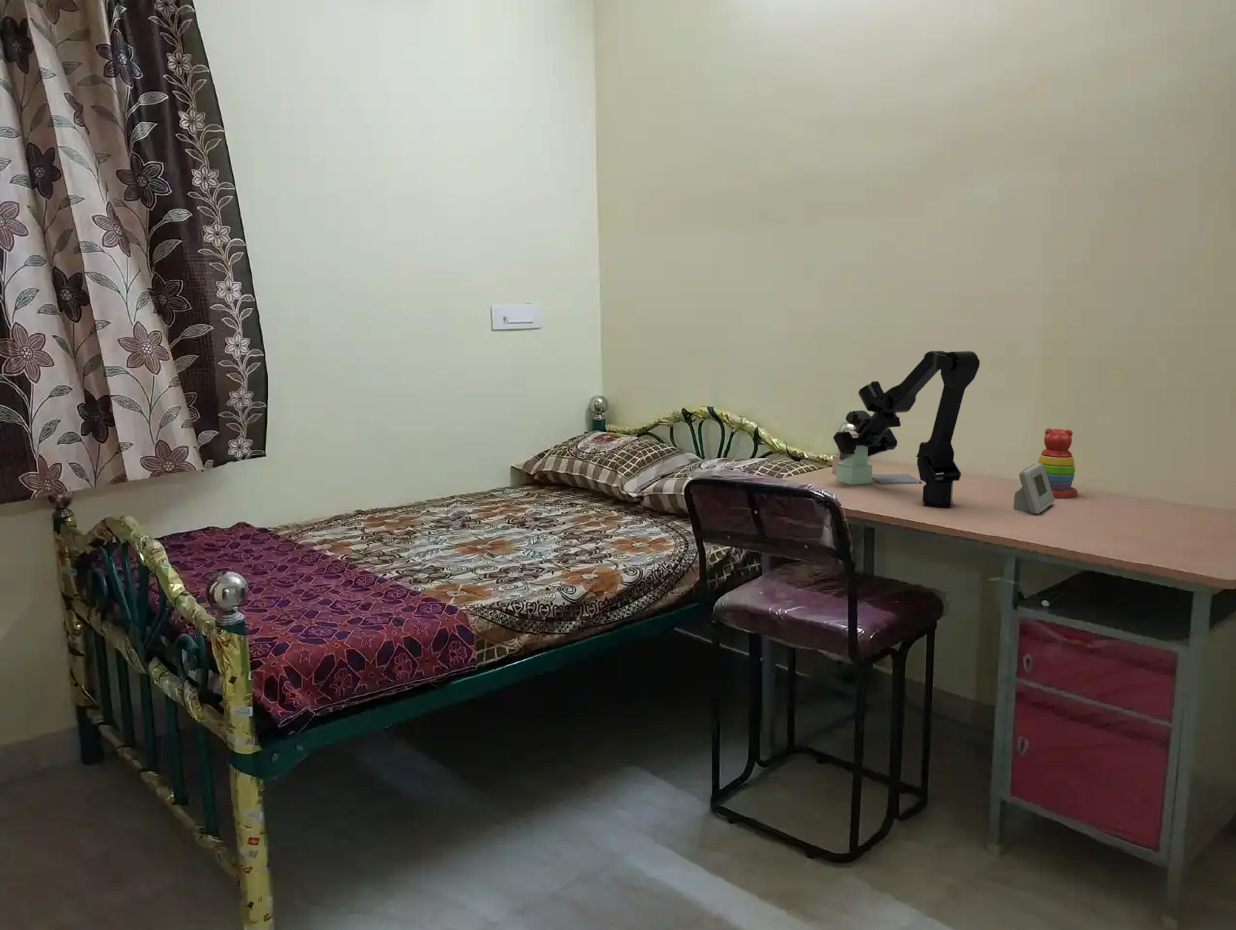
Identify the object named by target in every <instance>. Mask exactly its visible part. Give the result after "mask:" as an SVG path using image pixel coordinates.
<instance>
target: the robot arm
mask: <svg viewBox="0 0 1236 930" xmlns="http://www.w3.org/2000/svg"><path fill="white" fill-rule="evenodd" d="M980 361H981V360H980V359H979V358H978V355H977V353H976V352H974V351H970V350H966V351H965V350H963V351H961V350H960V351H950V352H949V351H944V350H930V351H928V352H926V353H925V354H924V356H923V358H922V359H921V361H920V362H918V364H916V366H915V367H914V369H912V370H911V372H910V373H908V375H907V376H906V377H905V378H904V379H903V380H902V381H901V383H899V384H897V385H896V386H893V387H891V388H889V389H888V390H886V391H885V392H884V390H883V388H882V386H881V384H880V382H879V381H878V380H877V381H876V380H875V381H871V382H870V383H869V384H866V385H864V386H863V387H861V388H860V389H859V390H858V393H857V394H858V396H859V398H860V399H861V401H862V403H863V406H864V407H865V409H866V410H852V411H849V412H848V413H847V414H846V416H845V421H846V422H847V423H848V424H849V425H853V427H855V429H854V432H856V433H858V437H857V438H853V437H852V436H851V434H850V432H848V431H837V432H835V434H834V435H833V437H832V439H833V440H834V443H835V444H836V446H837V449H838V448H839V450H840V457H839V458H840V460H841V461H842V460H844V459H846V458H848V457H850V456H851V455H853V454H855V452H854V451H855V450H856V446H865V447H868V457H867V458H869V457H872V456H875V455H878V454H881V453H884V452H888V451H891V450H895V449H896V447H897V446H898V439H896V435H894V432H893V431H892V429H891V428H898V427H899V428H900V427H901V425H902V424H901V421H900V417H899V416H898V415H897V414H899V413H900V414H901V413H908V412H909V411H910V410H911V409H912V407H913V406H914V404H915V403H916V401H917V395H918V393H919V392H920V391H921V390H922V389H923V388H924V387H925V386H926V385H927V384H928V382H930V380H932V378H933V377H934V376H935V375H936V374H937V373H938V372H939V371H940V376H941V379H942V382H943V389H942V392H941V397H940V400H939V404H938V406H937V407H938V408H937V411H936V416H935V419H934V423H933V424H934V425H933V427H932V432H931V435H930V438H929V439H928V441H924V442H923V441H922V442H920V444H919V446H918V452H917V454H916V458H917V459H916V460H917V462H916V465H917V469H918V476H919V478H920V481H922V482H923V483H925V484H924V485H923V487H922V502H923V503H922V504H923V506H928V507H938V508H951V507H952V506H953V504H954V501H953V494H954V493H953V492H954V491H953V490H954V482H955V481H957V482H959V481H960V479H961V476H962V473H961V471H960V469H959V468H958V465H957V464H956V463H955V461H954V460H955V459H954V458H955V452H954V448H953V445H952V440H953V437H954V436H953V435H954V434H955V433H954V432H955V428H956V425H957V424H956V423H957V421H958V417H959V414H960V409H961V405H962V401H963V397H964V394H965V391H966V388H967V387H969V385H970V384H971V383H972V382H974V380H975V378H976V375H977V373H978V371H979V369H980ZM868 412H872V413H873V414H872V415H871V414H869V413H868Z"/></svg>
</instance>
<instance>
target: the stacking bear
mask: <svg viewBox="0 0 1236 930" xmlns="http://www.w3.org/2000/svg"><path fill="white" fill-rule="evenodd" d="M1045 429H1046V430H1045V431H1044V434H1045V435H1044V438H1043V443H1044V447H1045V448H1044V449H1043V450H1042V451H1041V454H1040V455H1039V458H1038V461H1037V463H1041V464H1043V466H1044V469H1045V472H1046V475H1047V478H1048V481H1049V484H1050V488H1051V491H1052V494H1053V497H1054V499H1069V498H1073V497H1076V496H1077V495H1078V489H1076V488H1075V487H1072V484H1073V481H1074V480H1075V479H1074V478H1075V473H1076V466H1075V460H1074V459H1075V458H1074V457H1073V454H1072V452H1071V451H1070V450H1069V449H1070V447H1071V446H1072V444H1073V437H1072V436H1073V433H1074V432H1073V431H1072V430H1071V429H1061V428H1053V429H1052V428H1045Z"/></svg>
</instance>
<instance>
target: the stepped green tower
mask: <svg viewBox="0 0 1236 930" xmlns="http://www.w3.org/2000/svg"><path fill="white" fill-rule="evenodd" d="M853 438H857V437H853ZM854 452H855V454H853V455H851V456H850V457H848V458H846V459H844V460H842V462H841V463H837V472H836V478H835V481H837V482H841V483H843V484H847V485H851V486H853V485H864V484H871V483H872V481H873V479H872V475H873V464H871V463H868V458H869V457H868V447H865V446H856V450H855V451H854Z"/></svg>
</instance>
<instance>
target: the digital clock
mask: <svg viewBox="0 0 1236 930" xmlns="http://www.w3.org/2000/svg"><path fill="white" fill-rule="evenodd" d="M1018 477H1019V481H1020V483H1021V487H1020V489H1018V490H1017V491H1015V492H1014V498H1013V510H1014V511H1020V510H1023V511H1022V512H1028V511H1030V512H1029V513H1031V514H1033V515H1039V514H1041V513H1043V512H1044V511H1045V510H1046V509H1048V508H1049V507H1050V506H1051V505H1052V504H1053V503H1054V502H1055V498H1054V497H1053V494H1052V491H1051V488H1050V484H1049V481H1048V478H1047V475H1046V472H1045V469H1044V466H1043V464H1041V463H1038V462H1037V463H1032V464H1031V465H1029V466H1027V467H1026V468H1024V469H1023V470H1021V472H1020V473H1019V474H1018ZM1048 506H1049V507H1048ZM1047 507H1048V508H1047ZM1045 508H1046V509H1045ZM1044 509H1045V510H1044ZM1043 510H1044V511H1043ZM1040 512H1041V513H1040Z"/></svg>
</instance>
